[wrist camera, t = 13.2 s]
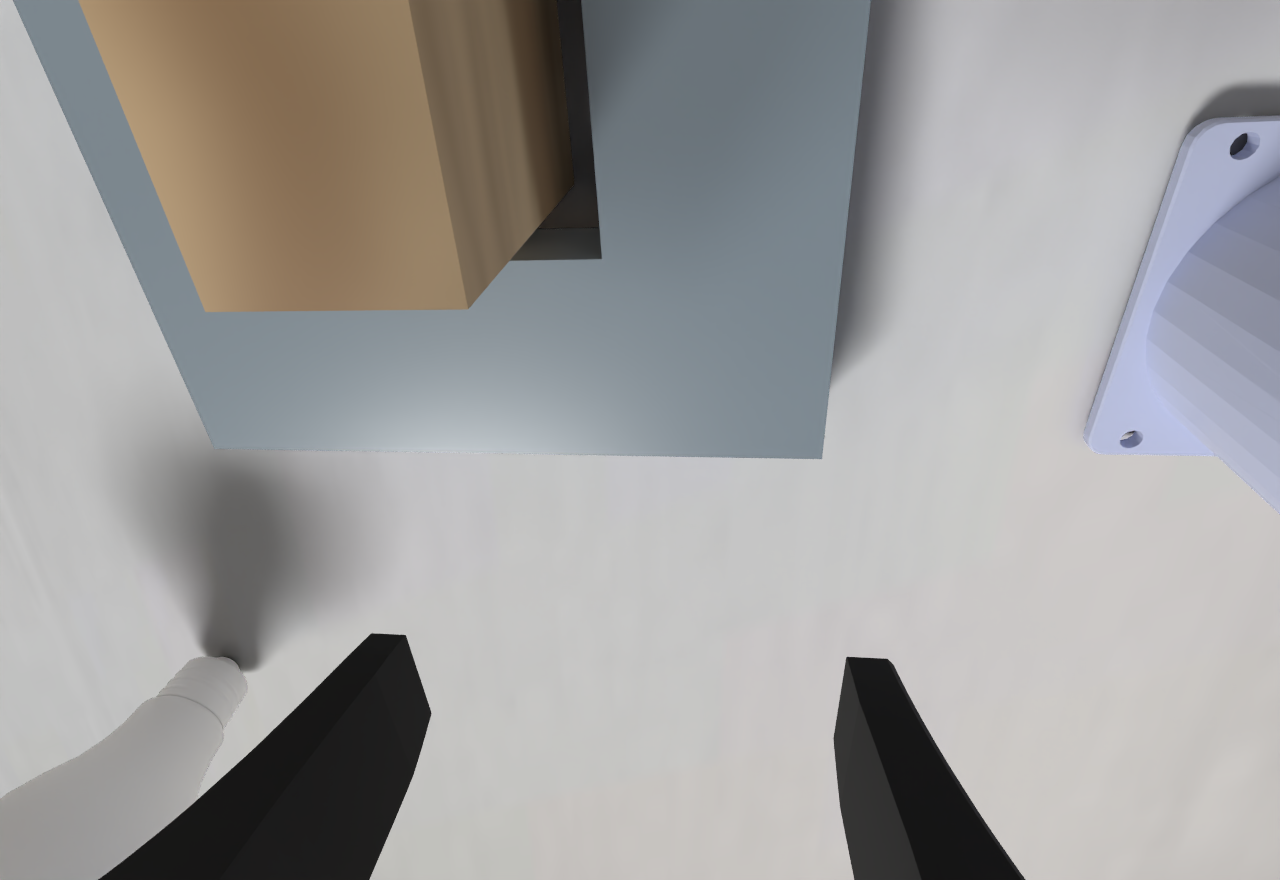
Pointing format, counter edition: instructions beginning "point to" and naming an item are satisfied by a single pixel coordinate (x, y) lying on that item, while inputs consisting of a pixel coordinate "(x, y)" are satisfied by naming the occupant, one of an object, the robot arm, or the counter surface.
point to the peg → (343, 142)
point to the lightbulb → (121, 781)
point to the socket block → (562, 261)
